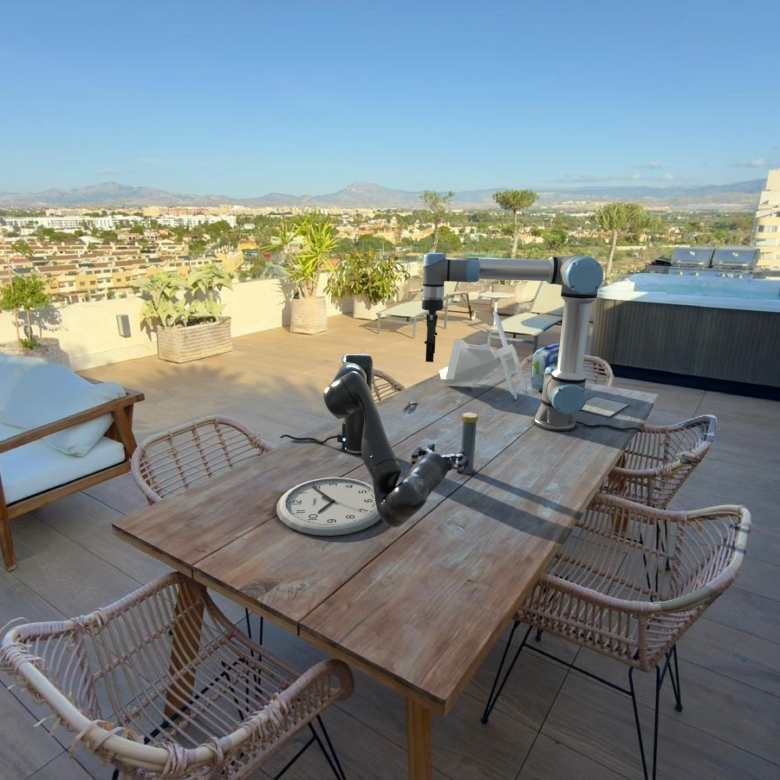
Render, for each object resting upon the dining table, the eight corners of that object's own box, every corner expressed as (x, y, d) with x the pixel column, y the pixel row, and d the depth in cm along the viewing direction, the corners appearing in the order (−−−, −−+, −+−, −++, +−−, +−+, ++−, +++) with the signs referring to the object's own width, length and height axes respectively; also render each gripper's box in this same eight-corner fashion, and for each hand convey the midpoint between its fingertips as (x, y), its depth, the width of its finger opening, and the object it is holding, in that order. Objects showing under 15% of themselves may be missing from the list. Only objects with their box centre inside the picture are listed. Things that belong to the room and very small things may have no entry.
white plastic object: (461, 429, 252) (437, 405, 227) (444, 352, 274) (420, 323, 250) (535, 404, 240) (518, 377, 215) (510, 326, 262) (492, 293, 237)
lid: (470, 416, 162) (470, 411, 162) (480, 421, 158) (481, 415, 158) (459, 419, 160) (459, 413, 159) (469, 424, 156) (469, 418, 156)
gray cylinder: (467, 467, 167) (470, 413, 161) (475, 472, 164) (479, 417, 158) (457, 470, 165) (460, 415, 159) (465, 475, 162) (469, 419, 156)
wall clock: (392, 527, 129) (268, 531, 127) (391, 533, 130) (269, 537, 127) (383, 473, 158) (282, 475, 155) (383, 478, 158) (282, 480, 156)
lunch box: (547, 395, 239) (552, 351, 233) (526, 390, 247) (530, 347, 240) (574, 384, 257) (579, 343, 251) (554, 380, 264) (558, 339, 258)
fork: (400, 411, 216) (400, 406, 215) (412, 399, 230) (412, 395, 230) (406, 412, 215) (406, 407, 215) (418, 400, 230) (418, 396, 229)
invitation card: (608, 416, 214) (573, 407, 224) (608, 416, 214) (573, 408, 224) (628, 404, 229) (594, 396, 238) (628, 405, 229) (594, 397, 238)
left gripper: (456, 465, 123) (474, 441, 137) (400, 454, 129) (424, 432, 143) (454, 493, 125) (473, 467, 140) (400, 481, 131) (423, 457, 145)
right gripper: (424, 293, 195) (422, 349, 202) (419, 302, 172) (417, 365, 178) (444, 294, 195) (441, 350, 201) (442, 303, 171) (439, 366, 177)
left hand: (448, 449), depth 141 cm, fingers open, 8 cm apart
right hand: (430, 357), depth 190 cm, fingers open, 13 cm apart
